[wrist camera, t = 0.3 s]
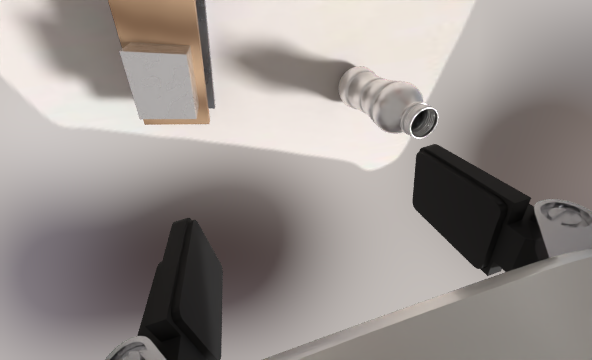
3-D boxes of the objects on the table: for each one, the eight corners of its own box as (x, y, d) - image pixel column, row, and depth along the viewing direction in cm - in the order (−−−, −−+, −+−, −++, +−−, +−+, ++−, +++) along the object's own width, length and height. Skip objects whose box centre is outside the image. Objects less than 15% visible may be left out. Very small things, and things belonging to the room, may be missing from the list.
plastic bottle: (336, 107, 46) (396, 157, 30) (332, 68, 43) (399, 101, 26) (369, 98, 47) (445, 143, 31) (368, 59, 43) (455, 86, 27)
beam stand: (104, -122, 27) (66, -165, 20) (194, -105, 29) (186, -139, 22) (154, 105, 39) (141, 122, 33) (215, 106, 41) (213, 122, 35)
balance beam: (63, -174, 19) (53, -183, 18) (177, -149, 21) (174, -156, 20) (147, 119, 34) (144, 124, 33) (209, 119, 36) (209, 124, 35)
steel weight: (130, 42, 27) (119, 51, 24) (190, 45, 29) (186, 54, 26) (147, 105, 32) (139, 119, 29) (198, 105, 33) (196, 119, 30)
